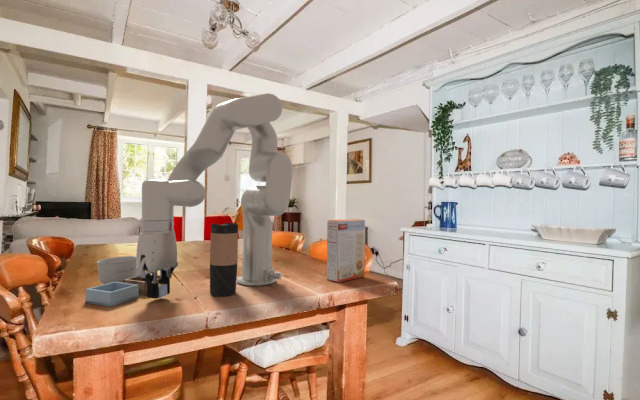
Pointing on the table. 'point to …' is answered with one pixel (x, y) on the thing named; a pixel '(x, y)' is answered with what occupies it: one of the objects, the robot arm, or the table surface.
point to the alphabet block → (162, 290)
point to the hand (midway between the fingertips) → (158, 294)
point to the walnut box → (139, 283)
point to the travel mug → (223, 259)
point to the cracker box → (345, 249)
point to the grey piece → (116, 269)
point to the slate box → (111, 293)
